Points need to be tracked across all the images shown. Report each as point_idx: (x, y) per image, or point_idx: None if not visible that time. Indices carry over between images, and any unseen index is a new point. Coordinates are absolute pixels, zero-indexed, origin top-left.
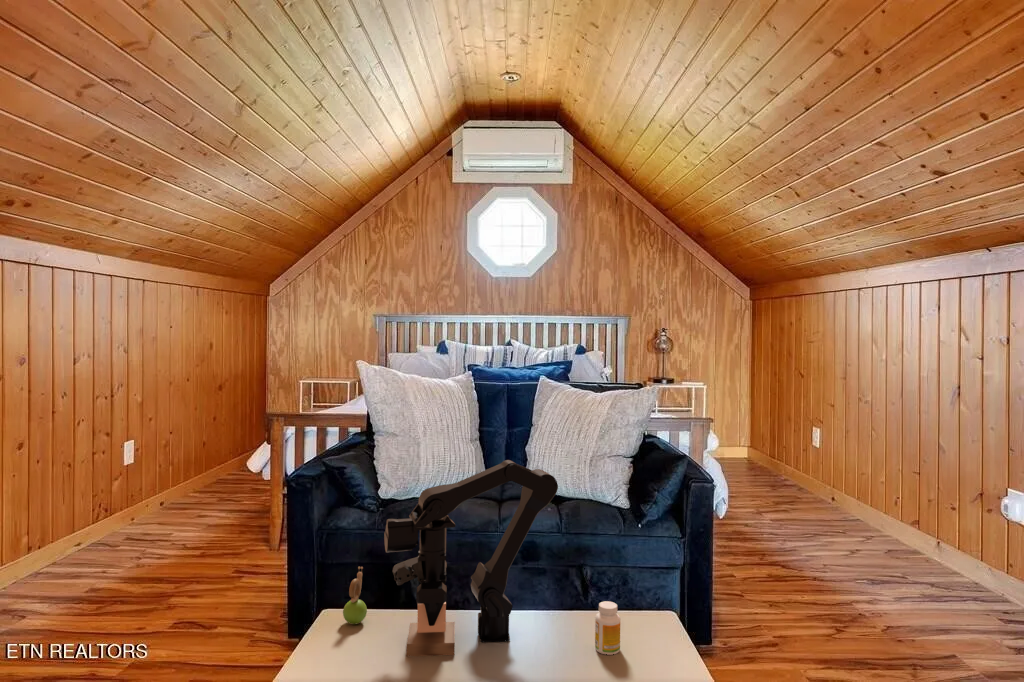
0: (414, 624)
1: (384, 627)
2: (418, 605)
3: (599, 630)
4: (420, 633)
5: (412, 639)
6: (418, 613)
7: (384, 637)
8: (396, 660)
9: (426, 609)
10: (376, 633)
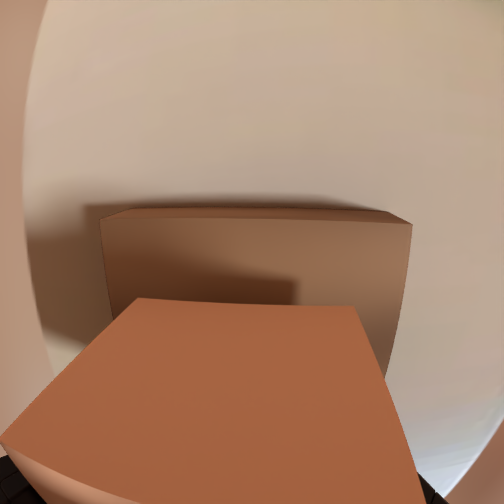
0: (383, 256)
1: (464, 76)
2: (5, 440)
3: None
4: (236, 300)
5: (153, 250)
6: (58, 387)
7: (356, 66)
8: (98, 163)
9: (3, 461)
10: (400, 30)
